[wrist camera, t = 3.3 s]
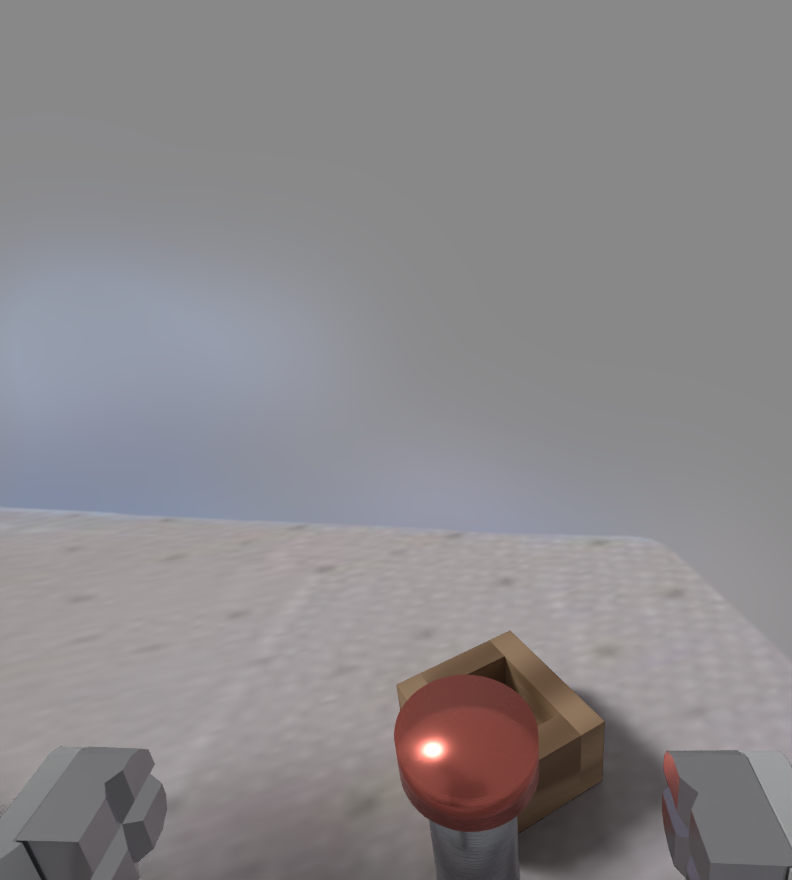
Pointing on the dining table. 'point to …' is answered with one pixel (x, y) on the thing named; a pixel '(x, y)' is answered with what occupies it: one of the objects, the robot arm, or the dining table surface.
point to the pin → (469, 772)
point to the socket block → (556, 712)
